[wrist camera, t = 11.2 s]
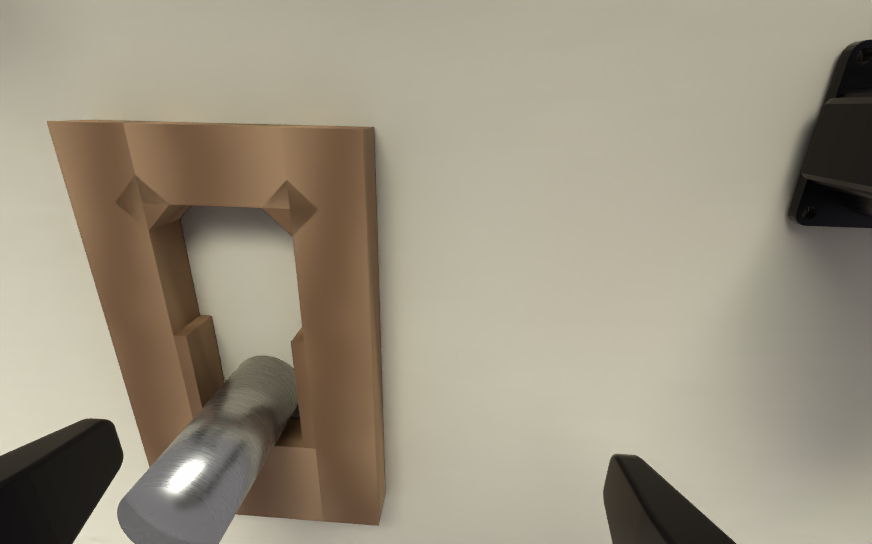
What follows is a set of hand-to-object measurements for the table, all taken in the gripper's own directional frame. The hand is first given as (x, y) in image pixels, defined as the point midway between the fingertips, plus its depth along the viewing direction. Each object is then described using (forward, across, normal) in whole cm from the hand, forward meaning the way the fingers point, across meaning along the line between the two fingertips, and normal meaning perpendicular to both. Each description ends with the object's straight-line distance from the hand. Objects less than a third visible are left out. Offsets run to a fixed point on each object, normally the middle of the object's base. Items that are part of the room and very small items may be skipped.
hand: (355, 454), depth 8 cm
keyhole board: (+12, +8, +5) cm, 15 cm away
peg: (+12, +8, +8) cm, 16 cm away
